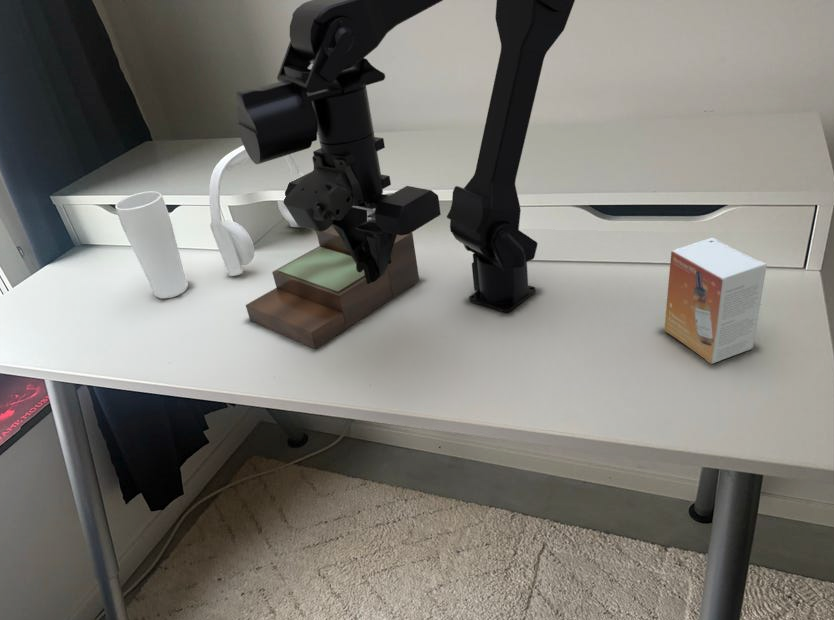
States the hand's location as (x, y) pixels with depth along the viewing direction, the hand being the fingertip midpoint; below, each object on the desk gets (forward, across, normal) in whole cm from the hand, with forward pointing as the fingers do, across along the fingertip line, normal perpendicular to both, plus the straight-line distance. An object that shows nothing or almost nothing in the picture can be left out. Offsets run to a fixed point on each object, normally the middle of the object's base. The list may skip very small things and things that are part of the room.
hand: (372, 269), depth 83 cm
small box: (+11, +32, +19) cm, 39 cm away
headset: (+11, -37, +12) cm, 40 cm away
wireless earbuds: (+1, 0, 0) cm, 1 cm away
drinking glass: (+11, -41, -5) cm, 43 cm away
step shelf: (+11, -15, +5) cm, 19 cm away
